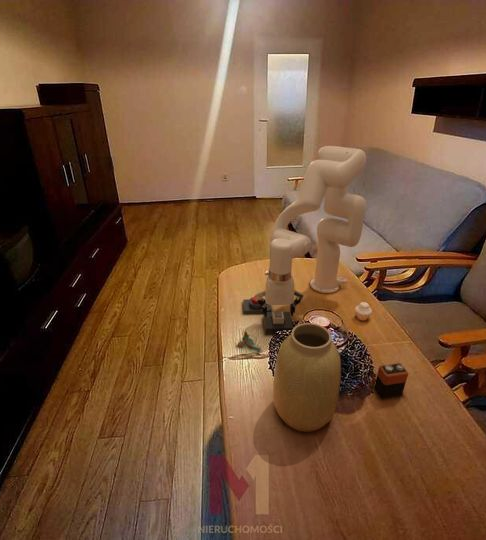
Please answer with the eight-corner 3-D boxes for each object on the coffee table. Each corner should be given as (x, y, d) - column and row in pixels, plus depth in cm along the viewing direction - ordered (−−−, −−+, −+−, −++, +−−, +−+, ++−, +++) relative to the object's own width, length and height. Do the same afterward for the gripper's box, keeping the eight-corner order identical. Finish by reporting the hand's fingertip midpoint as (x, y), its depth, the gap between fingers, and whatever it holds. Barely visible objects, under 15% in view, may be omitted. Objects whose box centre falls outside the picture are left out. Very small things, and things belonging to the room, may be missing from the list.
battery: (373, 387, 104) (379, 362, 99) (394, 384, 105) (401, 359, 100) (380, 399, 100) (387, 374, 95) (402, 396, 101) (410, 370, 96)
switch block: (269, 302, 144) (270, 295, 142) (271, 313, 137) (271, 306, 135) (243, 302, 144) (243, 295, 142) (243, 314, 137) (243, 306, 135)
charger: (282, 322, 132) (282, 310, 129) (283, 329, 128) (284, 316, 126) (271, 323, 132) (272, 310, 129) (272, 329, 128) (273, 317, 126)
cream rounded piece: (355, 322, 131) (358, 307, 128) (351, 313, 137) (354, 298, 133) (372, 322, 131) (375, 307, 128) (367, 313, 136) (370, 298, 133)
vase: (303, 451, 86) (312, 371, 73) (259, 405, 99) (261, 330, 86) (348, 416, 95) (363, 339, 82) (303, 378, 107) (310, 306, 94)
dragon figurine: (267, 339, 122) (248, 327, 123) (263, 346, 115) (243, 333, 116) (258, 354, 123) (239, 341, 125) (254, 361, 116) (234, 348, 118)
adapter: (289, 317, 135) (289, 311, 133) (292, 334, 126) (293, 327, 124) (263, 318, 135) (263, 312, 133) (265, 335, 126) (265, 328, 124)
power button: (261, 299, 141) (261, 295, 140) (261, 304, 138) (262, 300, 137) (252, 299, 141) (252, 295, 140) (252, 304, 138) (252, 300, 137)
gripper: (255, 280, 116) (255, 321, 124) (307, 278, 116) (303, 320, 124) (254, 269, 123) (254, 308, 131) (303, 268, 123) (300, 307, 131)
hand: (278, 314), depth 128 cm, fingers open, 9 cm apart
